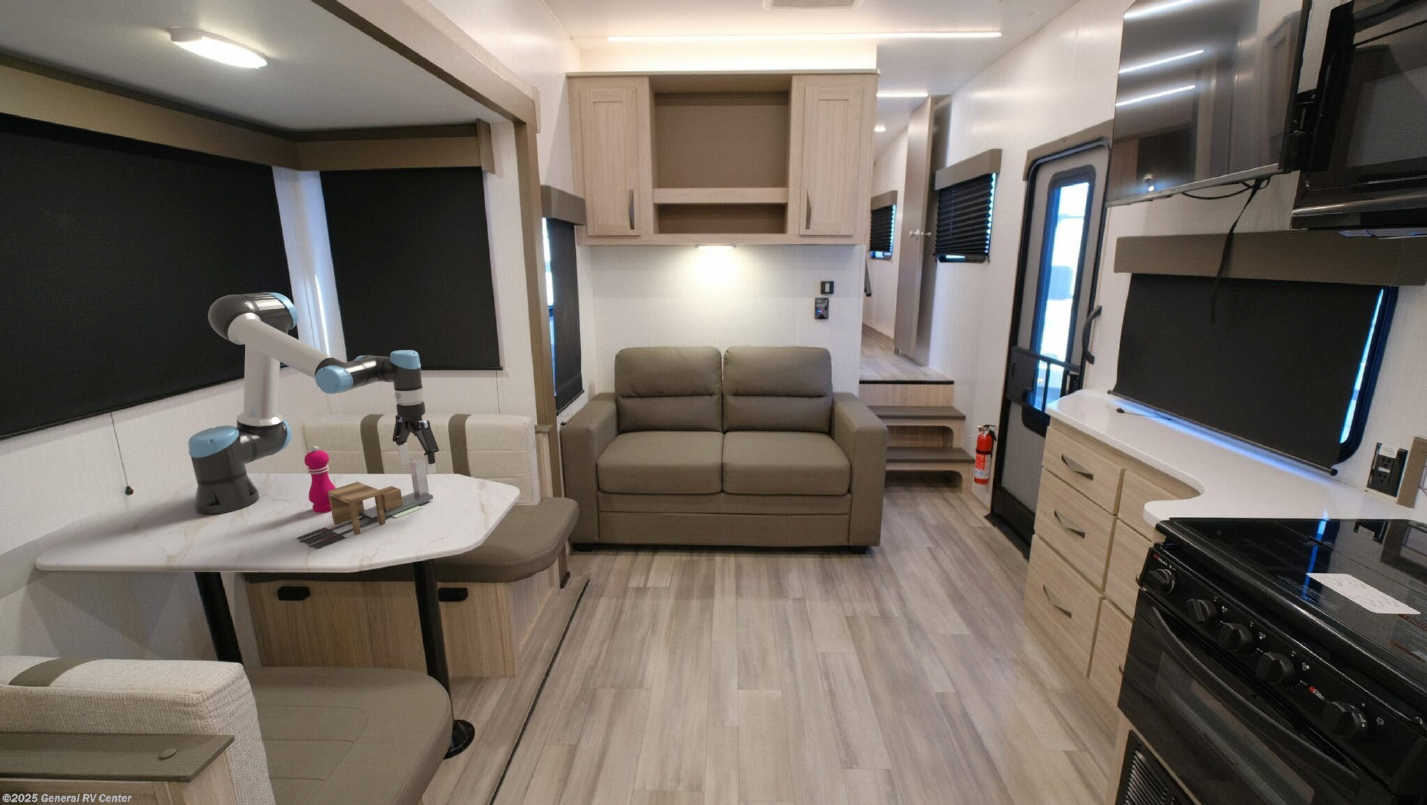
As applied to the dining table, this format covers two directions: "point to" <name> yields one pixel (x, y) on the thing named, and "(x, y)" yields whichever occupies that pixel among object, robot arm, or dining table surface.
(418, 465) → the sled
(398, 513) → the pad
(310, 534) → the flat slatted panel
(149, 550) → the dining table surface
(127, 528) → the dining table surface
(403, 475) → the dining table surface
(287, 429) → the robot arm
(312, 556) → the dining table surface
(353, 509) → the tunnel
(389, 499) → the block
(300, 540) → the rails
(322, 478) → the pepper mill
